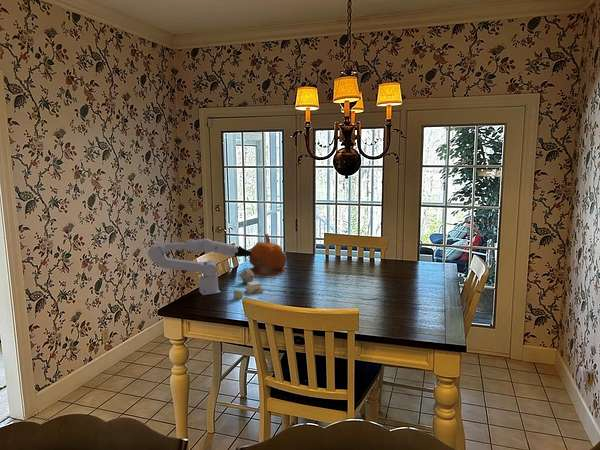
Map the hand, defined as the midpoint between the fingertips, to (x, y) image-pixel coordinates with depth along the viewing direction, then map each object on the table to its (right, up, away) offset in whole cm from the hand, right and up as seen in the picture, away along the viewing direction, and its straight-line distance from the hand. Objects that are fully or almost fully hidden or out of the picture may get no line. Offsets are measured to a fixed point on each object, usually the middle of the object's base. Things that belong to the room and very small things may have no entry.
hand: (249, 254), depth 232 cm
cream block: (+3, -17, -2) cm, 18 cm away
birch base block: (+3, -20, -2) cm, 20 cm away
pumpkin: (+7, -13, +40) cm, 42 cm away
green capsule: (-4, -21, -13) cm, 25 cm away
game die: (-3, -17, +14) cm, 22 cm away
